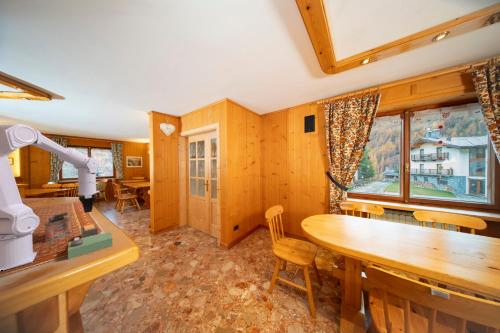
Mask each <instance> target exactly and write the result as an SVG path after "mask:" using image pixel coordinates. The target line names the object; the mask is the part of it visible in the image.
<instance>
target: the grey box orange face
mask: <svg viewBox="0 0 500 333" xmlns="http://www.w3.org/2000/svg"><path fill="white" fill-rule="evenodd" d="M80 231H81V232H80V234H81V235H80V237H81V239H82V238H86V237H90V236H94V235H98V234H99V229H98V226H97V224H94V223H90V224H87V225H83V227H80Z"/></svg>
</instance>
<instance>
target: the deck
mask: <svg viewBox="0 0 500 333" xmlns="http://www.w3.org/2000/svg"><path fill="white" fill-rule="evenodd" d="M109 246H110V247H113V237H112V235H111V231H109V232H108V231H107V232H105V231H104V230H101V231H100V232H99V233H98V235H94V236H90V237H86V238H82V237H81V238H80V236H78V237H74V240H72V241H69V242H68V246H67V259H68V260H70V259H74V258H76V257H79V256H83V255H86V254H87V255H88V254H90V253H93V252H96V251H100V250H103V249H106V248H110V247H109Z"/></svg>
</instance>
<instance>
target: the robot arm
mask: <svg viewBox="0 0 500 333" xmlns="http://www.w3.org/2000/svg"><path fill="white" fill-rule="evenodd" d="M29 145H31V146H34V147H37V148H39V149H42V150H44V151H47V152H50V153H52V154H55V155H57V158H58V159H59V160H61V161H63V162H65V163H68V164H71V165H73V168H75V169H76V170H77V182H78V183H77V184H78V186H77V187H78V190H77V191H78V192H77V195H78V201H79V202H80V203H81V204H82V208H83V211H84V214H86V213H92V210H93V208H94V204H95V200H96V199H97V195H96V194H97V193H101V192H100V190H97V180H96V179H97V177H96V176H97V174H96V173H97V172H98V168H99V166H100V162H99V160H98V159H97V158H95V157H92V156H88V155H87V154H85V153H82V152H80V151H78V149H76V147H64V146H62V145H60V144H59V143H58V142H55V141H54V140H52V139H50V138H48V137H46V136H45V135H43V134H42V133H41V131H40V130H38V129H35V128H33V127H32V126H29V125H26V124H22V123H21V124H20V123H18V124H0V272H2V271H1V270H3V271H5V270H9V269H13V268H17V267H20V266H23V265H27V264H31V263H33V262H34V261H35V258H36V256H37V254H38V252H37V251H34V248H33V247H34V246H33V245H34V243H33V233H34V231H35V230H36V229H37V228H38V226H39V225H40V221H41V220H40V217H39V216H38V215H37V214H35V213H34V211H33V208H31V207H29V206H28V205H26V204H24V203H23V201H22V197H21V195H20V192H19V188H18V184H17V181H16V178H15V175H14V173H13V169H12V166H11V163H10V161H9V157H8V156H9V155H10V154H12V153H13V152H15V151H16V150H18V149H20V148H23V147H26V146H29Z"/></svg>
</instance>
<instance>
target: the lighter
mask: <svg viewBox="0 0 500 333" xmlns="http://www.w3.org/2000/svg"><path fill="white" fill-rule="evenodd" d="M68 215H69V213H68V212H63V213H59V214H53V215H51V216H49V217H48V221H47V222H44V224H43V226H44V228H45V229H44V234H45V235H44V236H45V239H44V242H45V243H49V242H53V241H56V240H59V239H62V238H64V237H67V236H69V235H71V234H72V231H71V216H68ZM66 216H67V217H66Z"/></svg>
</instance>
